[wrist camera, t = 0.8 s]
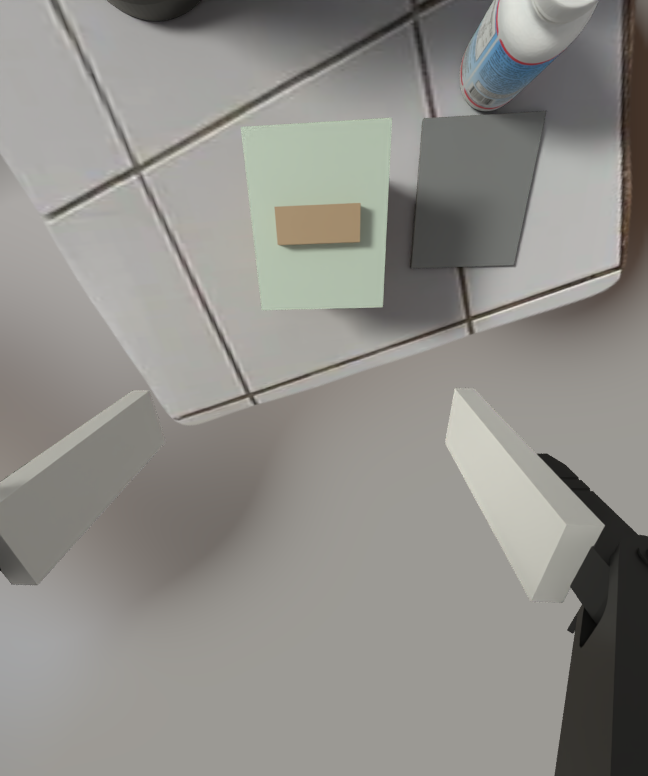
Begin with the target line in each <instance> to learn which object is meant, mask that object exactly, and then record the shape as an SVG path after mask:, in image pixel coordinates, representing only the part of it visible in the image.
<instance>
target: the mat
mask: <svg viewBox="0 0 648 776" xmlns="http://www.w3.org/2000/svg"><path fill="white" fill-rule="evenodd" d="M545 115H546V111H536V112H520V113H504V114H487V115H471V116H455V117H439V118H424V119H423V121H422V133H421V145H420V158H419V170H418V182H417V195H416V207H415V219H414V232H413V244H412V256H411V268H439V267H470V266H502V265H514V262H515V257H516V252H517V248H518V243H519V238H520V233H521V229H522V224H523V219H524V215H525V210H526V205H527V200H528V196H529V191H530V186H531V181H532V177H533V172H534V167H535V163H536V158H537V153H538V148H539V144H540V139H541V134H542V129H543V125H544V120H545Z"/></svg>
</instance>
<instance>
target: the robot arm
mask: <svg viewBox="0 0 648 776" xmlns="http://www.w3.org/2000/svg"><path fill="white" fill-rule="evenodd" d="M107 1H108V2H109V3H111V4H112V5H113V6H115V7H116V8H118V9H120V10H121V11H123V12H125V13H127V14H129V15H131V16H134V17H136V18H140V19H144V20H150V21H163V20H169V19H173V18H176V17H178V16H180V15H182V14H184V13H186V12H188V11H189V10H191V9H192V8H193V7H194V6H196V5H197V4H198V3H199V2H200V1H201V0H107ZM165 443H166V440H165V437H164V434H163V431H162V428H161V424H160V422H159V418H158V415H157V412H156V409H155V406H154V403H153V399H152V396H151V393H150V391H149V390H144V391H143V390H139V391H138V390H137V391H131V392H130V393H129V394H127V395H126V396H124V397H123V398H121V399H120V400H118V401H117V402H115V403H114V404H113V405H111V406H110V407H109V408H107V409H105V410H104V411H102V412H101V413H100V414H98V415H97V416H95V417H94V418H93V419H91V420H89V421H88V422H86V423H85V424H84V425H82V426H81V427H79V428H78V429H76V430H75V431H73V432H72V433H71V434H69V435H68V436H66V437H65V438H63V439H62V440H61V441H59V442H58V443H56V444H55V445H53V446H52V447H50V448H49V449H47V450H46V451H45V452H43V453H42V454H40V455H39V456H37V457H36V458H34V459H33V460H31V461H29V462H28V463H26V464H25V465H24V466H22V467H21V468H19V469H18V470H17V471H15V472H13V474H11V475H9V476H8V477H6V478H5V479H3V480H2V481H0V571H1V572H2V573H3V574H4V575H5V577H6V578H7V579H8V580H9V582H10V583H11V584H13V585H15V584H16V585H38V584H39V583H40V582H41V581H42V580H43V579H44V578H45V577H46V576H47V574H48V573H49V572H50V571H51V570H52V569H53V568H54V567H55V565H56V564H57V563H58V562H59V561H60V560H61V559H62V558H63V557H64V555H65V554H66V553H67V552H68V551H69V550H70V549H71V548H72V546H73V545H74V544H75V543H76V542H77V541H78V540H79V539H80V538H81V536H82V535H83V534H84V533H85V532H86V531H87V530H88V529H89V528H90V526H91V525H92V524H93V523H94V522H95V521H96V519H98V517H99V516H100V515H101V514H102V513H103V512H104V511H105V510H106V508H107V507H108V506H109V505H110V504H111V503H112V502H113V501H114V499H115V498H116V497H117V496H118V495H119V494H120V493H121V492H122V491H123V489H124V488H125V487H126V486H127V485H128V484H129V483H130V482H131V481H132V479H133V478H134V477H135V476H136V475H137V474H138V473H139V471H140V470H141V469H142V468H143V467H144V466H145V465H146V464H147V463H148V461H149V460H150V459H151V458H152V457H153V456H154V455H155V454H156V453H157V451H158V450H159V449H160V448H161V447H162V446H163V445H164V444H165ZM445 444H446V446H447V447H448V449H449V451H450V453H451V455H452V457H453V458H454V460H455V462H456V464H457V466H458V468H459V470H460V472H461V473H462V475H463V477H464V479H465V481H466V483H467V485H468V486H469V488H470V490H471V492H472V494H473V496H474V497H475V499H476V501H477V503H478V505H479V507H480V508H481V510H482V512H483V514H484V516H485V518H486V520H487V522H488V523H489V525H490V527H491V529H492V530H493V533H494V535H495V536H496V538H497V540H498V542H499V544H500V545H501V548H502V549H503V551H504V553H505V555H506V557H507V559H508V560H509V562H510V564H511V566H512V568H513V570H514V572H515V573H516V575H517V577H518V579H519V581H520V582H521V584H522V586H523V588H524V590H525V592H526V594H527V596H528V598H529V599H530V601H531V602H552V603H563V601H564V600H565V598H566V596H567V594H568V592H569V590H570V589H571V588H572V590H573V591H574V593H575V594H576V595H577V597H578V599H579V600H580V602H581V603H582V606H581V607H580V609H579V611H578V612H577V614H576V616H575V617H574V619H573V621H572V622H571V624H570V626H569V628H568V631H569V632H571V633H574V631H575V635H574V642H573V650H572V656H571V664H570V671H569V678H568V685H567V692H566V700H565V707H564V713H563V720H562V728H561V734H560V741H559V748H558V755H557V762H556V769H555V776H648V536H644V535H638V534H637V533H636V532H634V531H633V529H632V528H630V527H629V526H628V525H627V524H626V523H625V522H624V521H623V520H622V519H621V518H620V517H619V516H618V515H617V514H616V513H615V512H614V511H613V510H612V509H611V508H610V507H609V506H607V505H606V503H604V502H603V501H602V500H601V499H600V498H599V497H598V496H597V495H596V494H595V493H594V492H593V491H590V488H589V487H588V486H587V485H586V484H585V483H583V481H582V480H579V479H578V477H577V476H576V475H575V474H574V473H573V472H572V471H571V470H570V469H569V468H568V467H567V466H566V465H565V464H563V463H562V462H560V461H558V460H557V459H555V458H553V457H552V456H550V455H548V454H536V453H535V452H534V451H533V450H532V449H531V448H530V446H529V445H527V443H526V442H525V441H524V440H523V439H522V438H521V437H520V436H519V435H518V434H517V433H516V432H515V431H514V430H513V429H512V428H511V427H510V426H509V425H508V424H507V422H506V421H505V420H504V419H503V418H502V417H501V416H500V415H499V414H498V413H497V412H496V411H495V410H494V409H493V408H492V407H491V406H490V405H489V404H488V403H487V402H486V400H484V398H483V397H482V396H481V395H480V394H479V393H478V392H477V391H476V390H475V389H474V388H455V390H454V396H453V402H452V407H451V413H450V418H449V424H448V429H447V435H446V440H445Z"/></svg>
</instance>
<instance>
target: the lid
mask: <svg viewBox="0 0 648 776" xmlns="http://www.w3.org/2000/svg"><path fill="white" fill-rule="evenodd" d="M391 128H392V118H379V119H363V120H346V121H330V122H314V123H298V124H282V125H266V126H249V127H241V134H242V142H243V151H244V160H245V169H246V177H247V186H248V195H249V204H250V212H251V221H252V230H253V238H254V247H255V256H256V265H257V273H258V282H259V291H260V300H261V308H262V310H295V309H336V308H376V307H383V294H384V273H385V252H386V231H387V211H388V190H389V169H390V148H391Z"/></svg>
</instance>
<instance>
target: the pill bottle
mask: <svg viewBox="0 0 648 776" xmlns="http://www.w3.org/2000/svg"><path fill="white" fill-rule="evenodd" d="M598 1H599V0H494V1H493V2H492V4H491V6H490V8H489V9H488V11H487V13H486V14H485V16H484V18H483V20H482V21H481V23H480V25H479V27H478V28H477V30H476V32H475V33H474V35H473V37H472V39H471V40H470V42H469V44H468V46H467V48H466V50H465V53H464V55H463V58H462V61H461V66H460V73H459V80H460V87H461V91H462V94H463V96H464V98H465V100H466V101H467V102H468V104H469V105H470V106H472V107H473V108H475V109H477V110H480V111H492V110H495V109H498V108H500V107H502V106H504V105H505V104H507V103H508V102H509V101H510V100H512V99H513V98H514V97H515V96H516V95H517V94H518V93H519V92H520V91H521V90H522V89H524V88H525V87H526V86H527V85H528V84H529V83H530V82H531V81H532V80H533V79H534V78H535V77H536V76H537V75H538V74H540V73H541V72H542V71H543V70H544V69H545V68H546V67H547V66H548V65H549V64H550V63H551V62H552V61H553V60H554V59H555V58H556V57H557V56H558V55H559V54H561V53H562V52H563V51H564V50H565V49H566V48H567V47H568V46H569V45H570V44H571V43H572V42H573V41H574V40H575V39H576V37H577V36H578V35H579V34H580V33H581V31H582V30H583V29H584V27H585V26H586V24H587V23H588V21H589V20H590V18H591V16H592V14H593V12H594V10H595V8H596V6H597V4H598Z"/></svg>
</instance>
